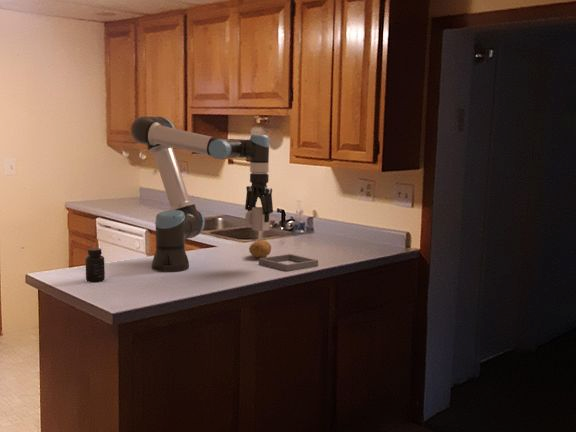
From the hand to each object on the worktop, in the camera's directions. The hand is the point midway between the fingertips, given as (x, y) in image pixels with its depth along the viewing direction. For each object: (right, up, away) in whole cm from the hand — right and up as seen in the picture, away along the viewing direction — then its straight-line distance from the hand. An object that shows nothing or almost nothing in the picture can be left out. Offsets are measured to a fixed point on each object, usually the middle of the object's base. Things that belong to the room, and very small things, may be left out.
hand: (258, 228), depth 268 cm
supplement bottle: (-60, -19, -22) cm, 67 cm away
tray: (+12, -16, +12) cm, 23 cm away
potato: (0, -14, +27) cm, 31 cm away
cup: (-1, -1, +1) cm, 1 cm away
